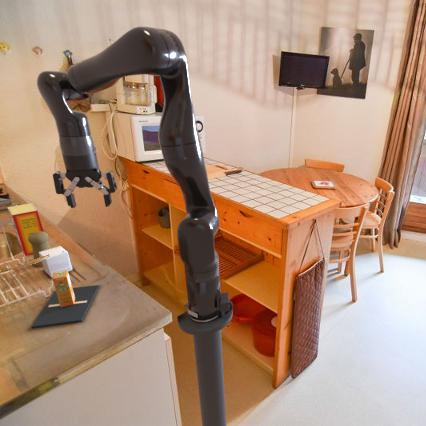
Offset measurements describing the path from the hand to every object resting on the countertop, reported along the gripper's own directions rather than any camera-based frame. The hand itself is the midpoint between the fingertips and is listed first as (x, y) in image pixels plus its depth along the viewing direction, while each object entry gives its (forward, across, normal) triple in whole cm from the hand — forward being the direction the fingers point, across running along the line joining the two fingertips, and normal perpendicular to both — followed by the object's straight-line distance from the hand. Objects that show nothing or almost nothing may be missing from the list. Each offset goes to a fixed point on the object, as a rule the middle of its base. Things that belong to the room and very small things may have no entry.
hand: (91, 206), depth 92 cm
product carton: (+26, -16, +9) cm, 32 cm away
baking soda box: (+26, -30, +27) cm, 48 cm away
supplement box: (+25, -7, -11) cm, 29 cm away
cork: (+26, -22, +16) cm, 38 cm away
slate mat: (+26, -7, -11) cm, 29 cm away
